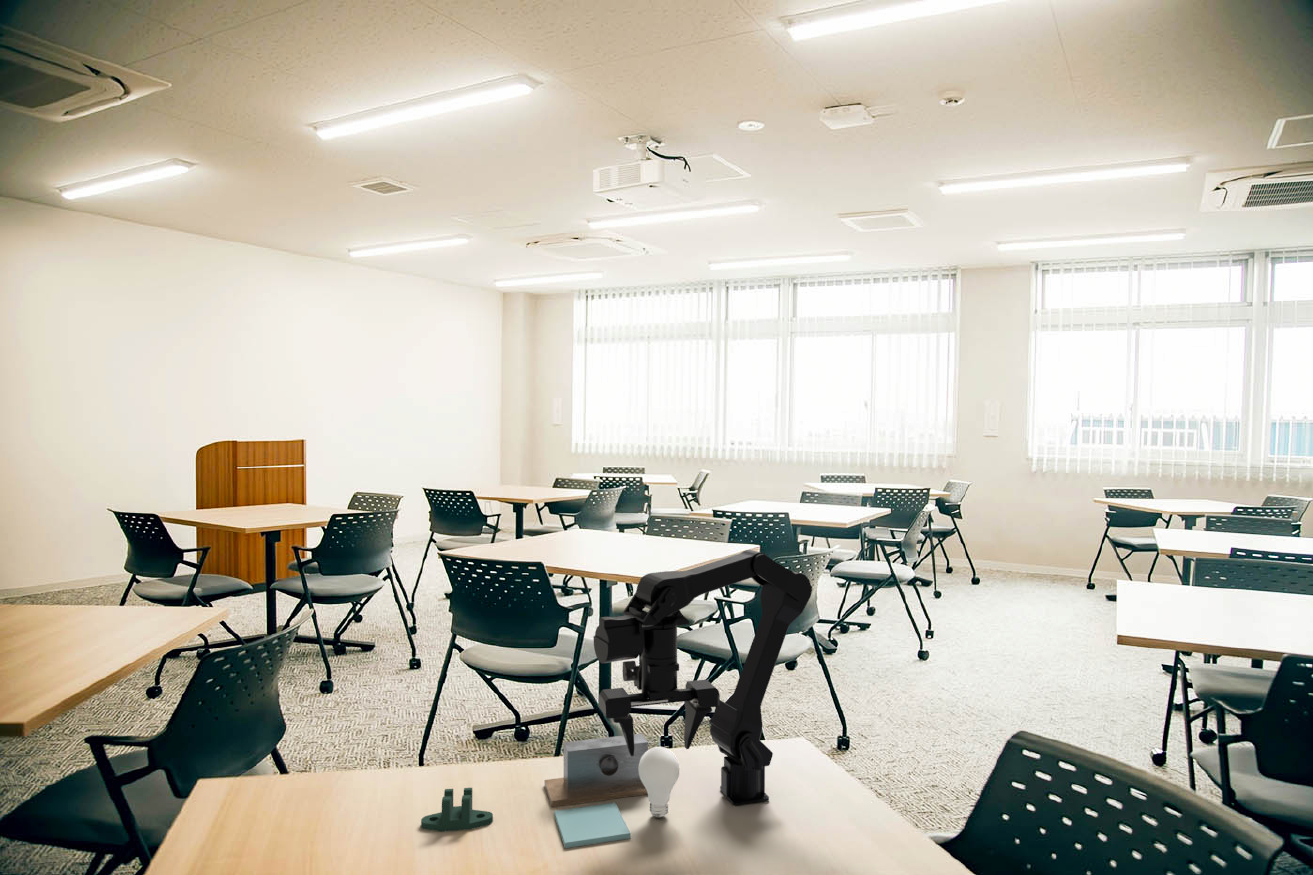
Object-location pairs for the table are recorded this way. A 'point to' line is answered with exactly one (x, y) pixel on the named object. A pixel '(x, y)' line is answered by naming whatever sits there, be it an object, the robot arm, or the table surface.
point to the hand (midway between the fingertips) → (659, 751)
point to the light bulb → (659, 777)
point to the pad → (591, 825)
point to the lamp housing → (598, 771)
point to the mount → (456, 815)
